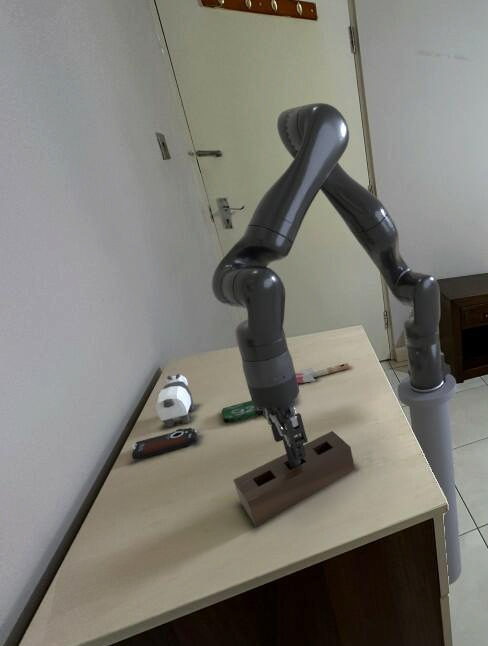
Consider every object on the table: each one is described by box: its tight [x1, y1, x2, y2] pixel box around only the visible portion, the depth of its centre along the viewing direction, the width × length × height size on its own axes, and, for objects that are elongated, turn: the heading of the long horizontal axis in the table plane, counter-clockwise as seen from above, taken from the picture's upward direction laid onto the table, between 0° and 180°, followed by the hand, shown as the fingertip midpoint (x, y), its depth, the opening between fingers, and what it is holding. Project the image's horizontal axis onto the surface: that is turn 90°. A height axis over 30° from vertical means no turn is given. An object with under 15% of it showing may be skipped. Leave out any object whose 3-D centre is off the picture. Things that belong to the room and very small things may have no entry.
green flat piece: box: [221, 399, 296, 424], centre depth 104 cm, size 16×1×10 cm
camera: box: [131, 427, 198, 460], centre depth 91 cm, size 6×3×11 cm
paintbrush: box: [296, 362, 350, 384], centre depth 119 cm, size 4×3×20 cm
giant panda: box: [155, 373, 196, 428], centre depth 102 cm, size 15×6×10 cm, turn 29°
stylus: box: [282, 436, 301, 470], centre depth 78 cm, size 2×2×12 cm
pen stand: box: [232, 430, 356, 528], centre depth 79 cm, size 8×19×6 cm, turn 139°
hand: (290, 448), depth 76 cm, fingers open, 8 cm apart
